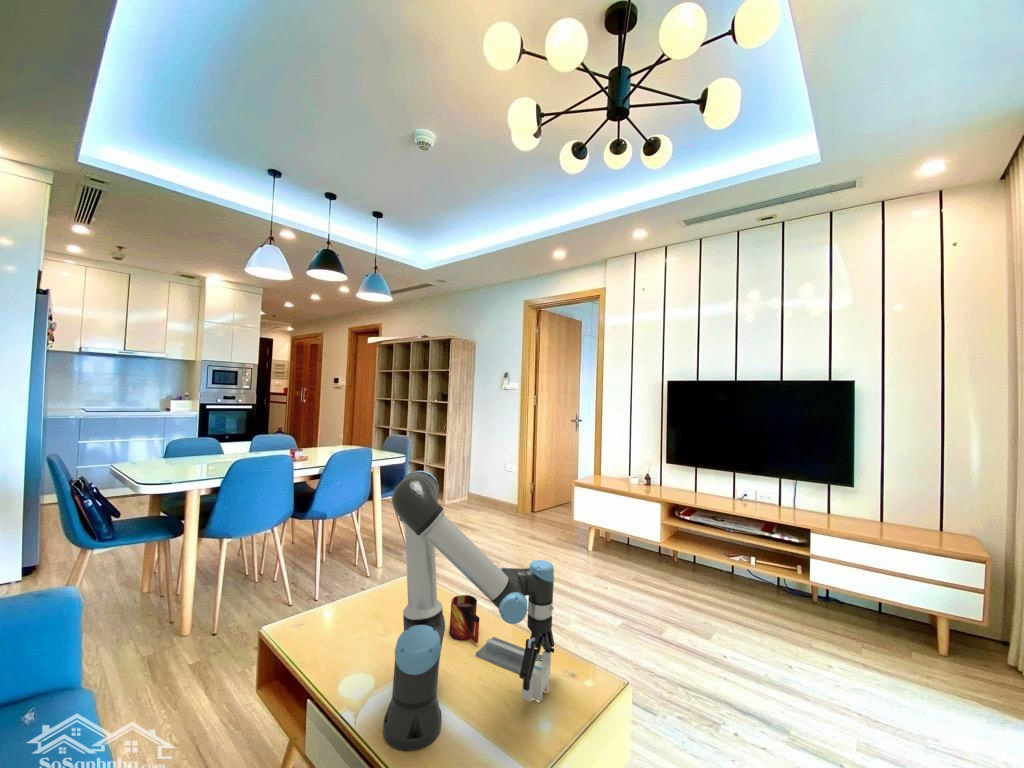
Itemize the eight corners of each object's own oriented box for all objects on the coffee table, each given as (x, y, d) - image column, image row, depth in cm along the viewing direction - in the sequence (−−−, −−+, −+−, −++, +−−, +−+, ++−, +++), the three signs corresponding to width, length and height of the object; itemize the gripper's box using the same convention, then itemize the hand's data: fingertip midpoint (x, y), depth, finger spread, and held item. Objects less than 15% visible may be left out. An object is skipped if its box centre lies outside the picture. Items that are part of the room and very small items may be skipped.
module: (540, 703, 120) (541, 676, 121) (522, 695, 123) (523, 669, 124) (548, 691, 126) (549, 666, 126) (530, 683, 129) (532, 659, 129)
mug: (476, 647, 146) (478, 612, 147) (444, 636, 152) (446, 602, 152) (489, 634, 155) (491, 601, 155) (457, 624, 160) (460, 592, 161)
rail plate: (527, 677, 131) (528, 668, 131) (475, 656, 141) (476, 647, 141) (542, 658, 142) (543, 649, 142) (493, 639, 151) (493, 631, 151)
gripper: (533, 637, 113) (530, 717, 112) (566, 601, 135) (563, 667, 134) (509, 629, 116) (506, 706, 115) (545, 595, 138) (542, 660, 137)
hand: (536, 685), depth 125 cm, fingers open, 13 cm apart
